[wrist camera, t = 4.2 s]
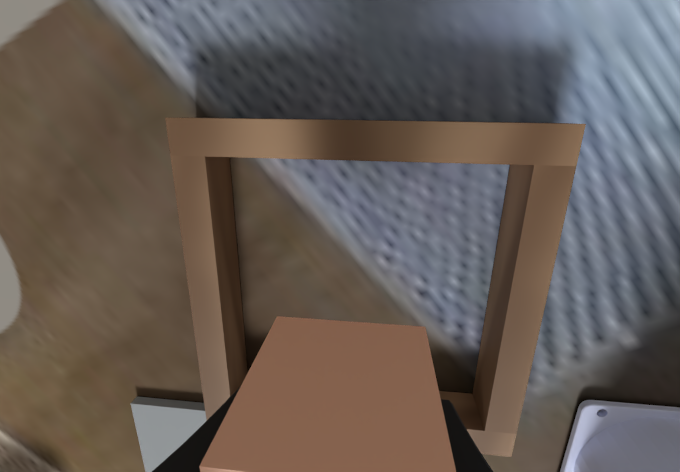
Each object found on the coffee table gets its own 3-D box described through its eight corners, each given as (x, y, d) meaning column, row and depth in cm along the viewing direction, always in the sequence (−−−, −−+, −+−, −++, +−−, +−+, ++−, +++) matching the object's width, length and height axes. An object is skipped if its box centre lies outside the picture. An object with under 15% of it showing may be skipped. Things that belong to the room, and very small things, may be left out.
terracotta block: (425, 326, 11) (461, 496, 6) (413, 442, 12) (434, 652, 7) (276, 316, 11) (199, 466, 6) (282, 429, 12) (222, 619, 8)
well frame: (553, 123, 15) (585, 124, 13) (496, 417, 20) (511, 456, 18) (195, 117, 17) (165, 117, 14) (225, 392, 22) (207, 425, 19)
